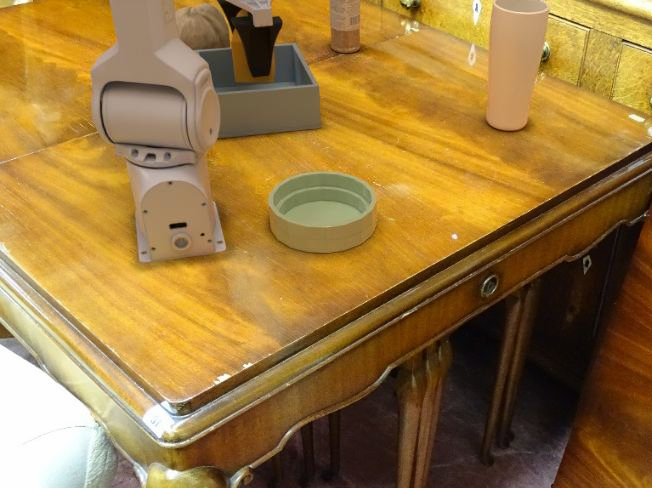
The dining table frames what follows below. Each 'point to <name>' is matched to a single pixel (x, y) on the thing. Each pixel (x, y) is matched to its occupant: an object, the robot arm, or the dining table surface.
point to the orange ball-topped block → (241, 63)
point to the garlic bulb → (202, 27)
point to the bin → (265, 95)
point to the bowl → (322, 211)
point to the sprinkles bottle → (345, 25)
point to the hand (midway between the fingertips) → (254, 66)
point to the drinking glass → (514, 60)
